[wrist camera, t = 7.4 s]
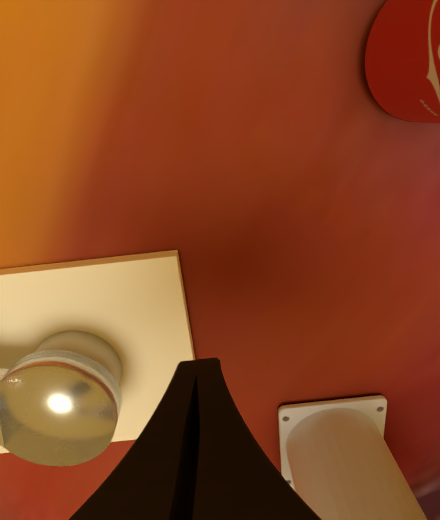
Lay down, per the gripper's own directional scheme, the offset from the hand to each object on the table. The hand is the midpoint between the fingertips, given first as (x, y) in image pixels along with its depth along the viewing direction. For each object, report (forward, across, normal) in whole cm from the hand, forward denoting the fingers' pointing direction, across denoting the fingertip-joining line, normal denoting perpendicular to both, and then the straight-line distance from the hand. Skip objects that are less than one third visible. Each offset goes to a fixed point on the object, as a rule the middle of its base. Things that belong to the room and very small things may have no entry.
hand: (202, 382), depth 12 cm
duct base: (+10, +9, +6) cm, 15 cm away
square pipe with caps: (+7, +13, +5) cm, 16 cm away
